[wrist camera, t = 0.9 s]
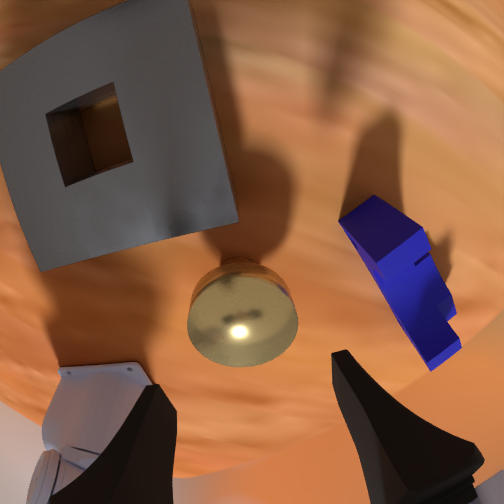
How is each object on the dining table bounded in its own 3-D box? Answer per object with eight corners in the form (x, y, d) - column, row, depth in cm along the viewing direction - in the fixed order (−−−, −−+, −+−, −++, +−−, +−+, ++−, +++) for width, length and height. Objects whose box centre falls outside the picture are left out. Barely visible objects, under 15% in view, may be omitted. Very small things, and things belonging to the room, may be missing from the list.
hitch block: (68, 244, 18) (40, 272, 14) (22, 83, 13) (-15, 82, 9) (237, 199, 18) (239, 222, 14) (192, 9, 12) (183, -17, 9)
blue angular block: (438, 294, 23) (476, 335, 17) (399, 324, 24) (430, 371, 18) (389, 181, 18) (443, 210, 13) (337, 220, 19) (376, 263, 14)
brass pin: (209, 315, 21) (205, 374, 16) (185, 246, 19) (171, 295, 14) (286, 299, 21) (303, 355, 16) (273, 226, 19) (290, 270, 14)
